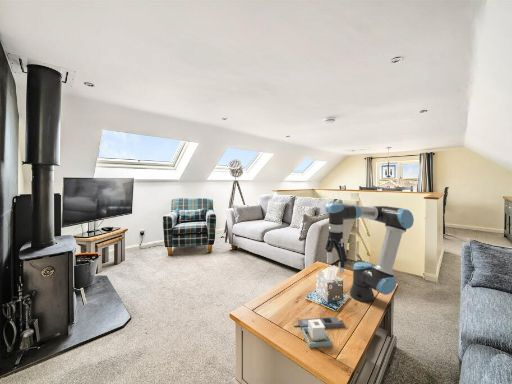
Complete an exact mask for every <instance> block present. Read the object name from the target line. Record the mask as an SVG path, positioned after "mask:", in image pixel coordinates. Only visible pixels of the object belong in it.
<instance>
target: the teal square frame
mask: <svg viewBox="0 0 512 384" xmlns="http://www.w3.org/2000/svg"><path fill="white" fill-rule="evenodd" d="M307 332H308V327H305V328H302V330H301V333H302V334H303V335H302V336H304V339H305V341H306V343H307V345H308V347H309V348H310V349H311V348H320V347H321V348H322V347H331V346H333V345H332V343H333V342H332V340H331V338H330V337H329V335H328V333H327V332H326V331H325V340H327V341H312V342H310V340H309V337H308V335H307V334H306V333H307ZM308 333H309V332H308Z"/></svg>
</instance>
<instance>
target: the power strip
mask: <svg viewBox="0 0 512 384" xmlns="http://www.w3.org/2000/svg"><path fill="white" fill-rule="evenodd" d="M315 319H320V320H321V322H322V323H323V325H324V326H325V329H328V328H342V327H345V323H344V320H343V319H342V318H341V317H340V316H332V317H331V316H330V317H317V318H304V319H303V318H301V319H300V318H299V319H297V325H295V324H294V325H293V327H294V328H300V330H301V331H302V328H305V327H308V320H315Z"/></svg>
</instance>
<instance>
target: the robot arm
mask: <svg viewBox="0 0 512 384" xmlns="http://www.w3.org/2000/svg"><path fill="white" fill-rule="evenodd" d="M324 209H325V212H326V213H327V214H328V230H329V231H328V236H327V242H326V244H325V250H326V252H327V253H326V262H327V264H332V263H333V249H335V251H336V253H337V256H338V259H339V260H338V274H345V263H347V262H348V258H347V254H346V249H345V242H342V241H341V240H342V239H343V238H344V232H343V231H344V221H345V220H347V221H348V220H356V219H359V218H362V219H368V220H370V221H375V222H379V223H383V224H384V227H385V229H386V231H385V235H384V238H383V242H382V246H381V248H380V252H379V256H378V259H377V263H376V265H374V266H373V264H372V263H369V262H365V261H360V262H359V261H358V262H355V263H354V264H353V268H352V283H351V287H350V289H349V296H350V297H351V298H353V299H354V300H355V301H359V302H363V303H371V302H373V301H374V300H375V294H374V291H373V290H375V291H376V292H377V293H379V294H382V295H384V296H385V295H390V294H392V293H393V292H394V291H395V289H396V287H397V280H396V279H395V278H394V277H395V274H394V273H395V272H394V271H393V268H394V265H395V262H396V258H397V253H398V249H399V248H400V247H399V246H400V244H401V239H402V236H403V234H404V233H406V232H407V230H408V229H411V228H412V227H413V226H414V215H413V213H412V212H411V210H409V209H408V208H407V209H406V208H402V207H395V206H388V205H387V206H386V205H381V206H380V205H379V206H377V205H376V206H375V205H370V206H362V205H353V204H345V203H341V202H340V203H338V202H337V203H335V202H329V203H327V204H326V205H325V208H324ZM372 300H373V301H372ZM370 301H371V302H370Z"/></svg>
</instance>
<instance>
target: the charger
mask: <svg viewBox="0 0 512 384" xmlns="http://www.w3.org/2000/svg"><path fill="white" fill-rule="evenodd" d="M325 332H326V328H325V326H324V325H323V323H322V322H321V320H320V319H315V320H308V335H309V336H310V338H311V340H312V341H313V342H322V340H326V337H325Z"/></svg>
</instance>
